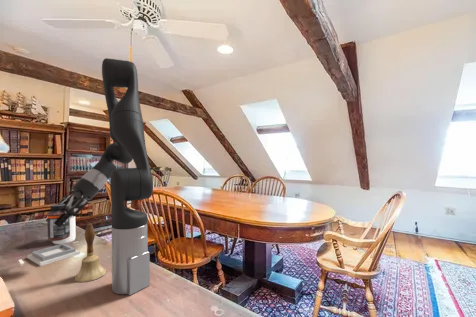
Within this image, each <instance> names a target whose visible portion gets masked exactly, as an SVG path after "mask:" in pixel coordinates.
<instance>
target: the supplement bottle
mask: <svg viewBox="0 0 476 317" xmlns="http://www.w3.org/2000/svg"><path fill="white" fill-rule="evenodd" d="M65 208H66V204H58V203H56V204H52V205H50V211H49V212H48V213H47V214H46V215H47V216H46V217H47V218H46V219H47V240H48V241H49V242H52V241H59V240H63V239H66V238H68V237H69V236H70V217H69V218H68V219H67V220H66V221H65V222H64V224H63V225H62V226H61V227H59V226H57V225H55V224H54V222H55V221H56V220H57V219H58V218H59V217H60V216H61V215H62V214H64V211H65V210H66V209H65Z"/></svg>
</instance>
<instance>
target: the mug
mask: <svg viewBox="0 0 476 317" xmlns="http://www.w3.org/2000/svg"><path fill="white" fill-rule="evenodd" d="M76 227H77V226H76V216H72V217H70V236H69V237H68V238H66V239H63V240H59V241H51V242H52V244H54V245H60V244H70V243H72V242H74V241H75V240H76V236H77V235H76V231H77V230H76Z"/></svg>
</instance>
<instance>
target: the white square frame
mask: <svg viewBox="0 0 476 317" xmlns="http://www.w3.org/2000/svg"><path fill="white" fill-rule="evenodd" d="M80 252H81V251H80V250H78V249H76V248H75V247H73V246H71V245H69V244H67V243H65V244H55V245H53V246H49V247H48V246H47V247H45V248H40V249H39V250H34V251H32V252H31V254H28V255H27V259H28V260H30V261H32V263H34V264H37V265H38V266H40V267H43V266H46V265H49V264H51V263H56V262H58V261H62V260H66V259H68V258H72V257H74V256H78V255H80Z"/></svg>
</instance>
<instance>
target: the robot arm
mask: <svg viewBox="0 0 476 317" xmlns="http://www.w3.org/2000/svg"><path fill="white" fill-rule="evenodd" d="M101 76H102V84H103V91H104V96H105V102H106V103H105V104H106V108H107V113H108V121H109V124H108V126H109V137H110V139H111V140H112V141H114V142H112V143H110V144H108V146H107V147H106V148H105V150H104V152H103V153H102V155H101V157H100V159H99V160H98V162H97V163H96V164H95V165H94V166H93V167H92V168H91V169H89V170H88V171H87V172H86V173H85V174H83V175H82V177H80V179H79V180H77V182H75V184H73V186H71V189H72V191H73V193H71V194H70V195H69V194H65V195H64V196H63V197H62V198H61V200H59V202H58V203H57V204H66V208H65V209H66V210H65V211H64V214H62V215H61V216H60V217H59V218H58V219H57V220H56V221H55V222H54V224H55V225H57V226H59V227H61V226H62V225H63V224H64V222H65V221H66V220H67V219H68V218H69V217H72V216H75V217H76V216H77V215H78V214H79V213H80V212H81V211H82V210H83V209H84V208H85V207H86V206H87V205H88V204H89V201H91V200H92V199H93V198H94V197H95V196H96V195H97V194H98V193H99V191H100V190H102V188H103V187H104V186H105V185H106V184H107V182H108V181H109V189H110V199H111V200H110V202H111V205H110V206H111V290H112V292H113V293H115V294H117V295H129V296H131V295H135V293H137V292H139V291H142V290H143V289H145V288H147V287H149V286H150V284H151V281H150V280H151V278H150V277H151V273H150V270H151V269H150V262H151V261H150V260H151V259H150V258H151V257H150V251H149V250H148V214H147V213H146V212H145V211H142V210H137V209H133V208H130V207H128V206H126V205H125V202H130V201H131V202H132V201H141V200H147V199H150V198H151V197H152V195H153V193H154V180H153V174H152V169H151V166H150V161H149V157H148V153H147V152H148V151H147V146H146V139H145V138H146V137H145V126H144V121H143V114H142V108H141V103H140V97H139V78H138V69H137V67H136V64H135V63H134V62H132V61H129V60H122V59H115V58H107V57H106V58H104V59H103V60H102V64H101ZM115 88H123V89H125V88H126V92H125V93H124V95H123V96H122V97H121V99H120V100H118V99H117V97H116V94H115V91H114V89H115ZM114 161H116V162H119V163H120V164H121V163H122V164H129V163H131V162H132V161H133V162H134V165H135V167H126V168H123V167H122V168H117V166H116V165H115V164H114ZM45 221H46V222H47V218H46V219H45Z"/></svg>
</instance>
